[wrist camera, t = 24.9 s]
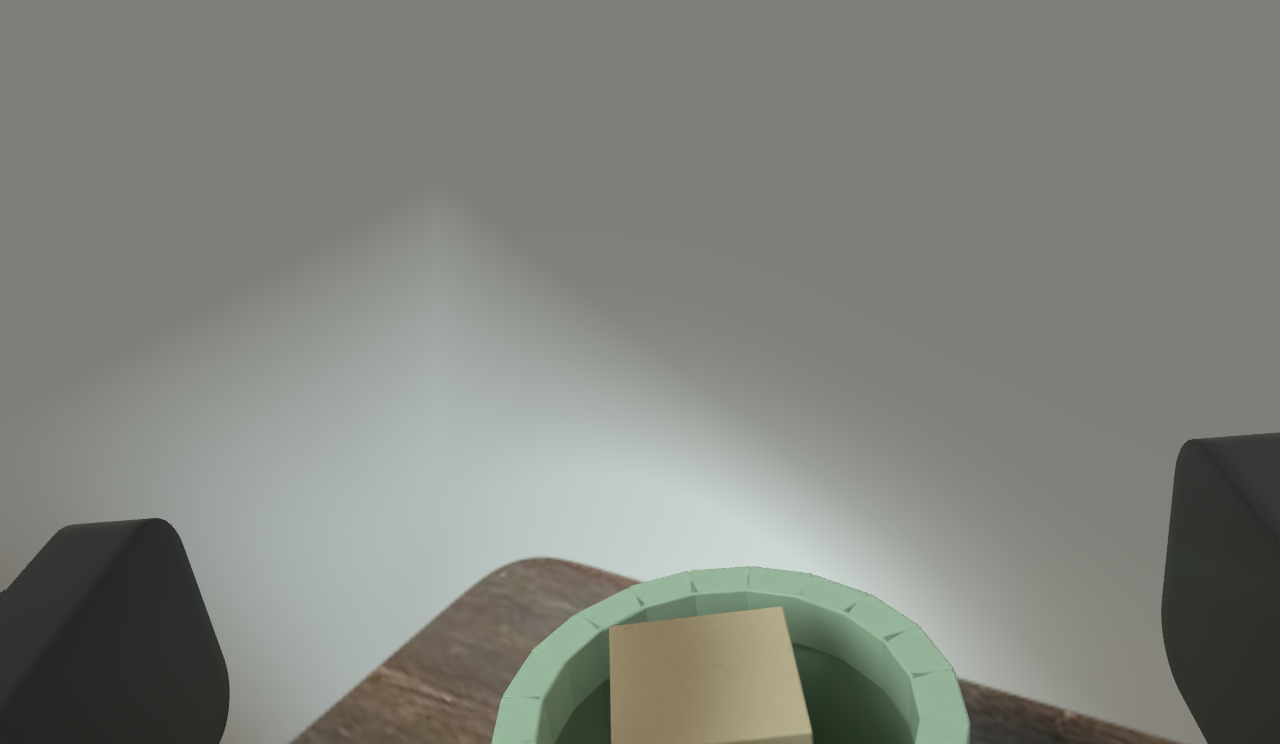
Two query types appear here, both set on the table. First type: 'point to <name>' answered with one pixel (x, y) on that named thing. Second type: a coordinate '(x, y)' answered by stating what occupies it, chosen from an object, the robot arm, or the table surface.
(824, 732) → the jar
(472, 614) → the table surface
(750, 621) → the block
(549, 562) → the table surface
